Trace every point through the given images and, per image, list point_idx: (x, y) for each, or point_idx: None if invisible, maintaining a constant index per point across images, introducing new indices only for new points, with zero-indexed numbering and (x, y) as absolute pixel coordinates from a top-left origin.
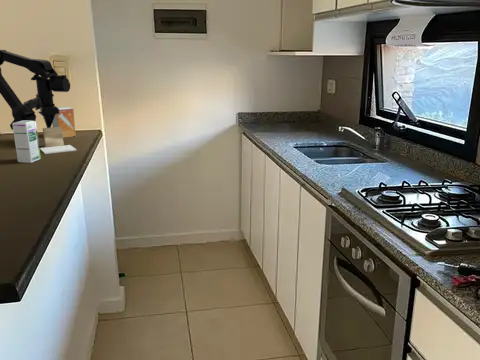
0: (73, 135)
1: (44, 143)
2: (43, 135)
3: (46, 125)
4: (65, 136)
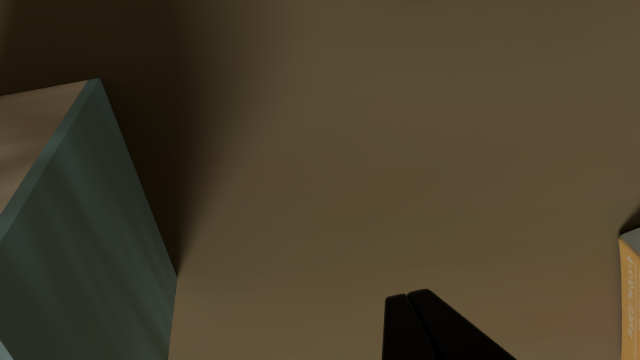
0: (627, 355)
1: (69, 105)
2: (31, 176)
3: (438, 335)
4: (628, 297)
